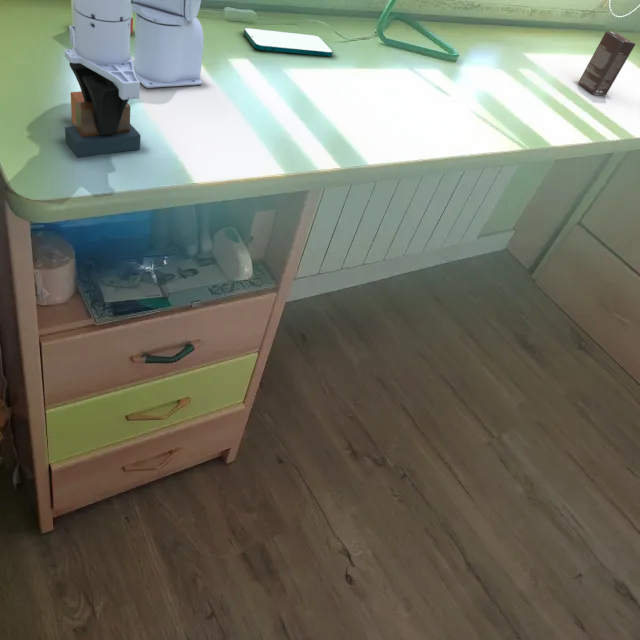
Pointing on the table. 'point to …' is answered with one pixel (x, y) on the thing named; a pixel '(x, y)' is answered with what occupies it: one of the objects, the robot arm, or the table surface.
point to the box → (606, 63)
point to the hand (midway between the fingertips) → (103, 127)
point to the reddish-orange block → (75, 98)
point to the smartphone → (287, 42)
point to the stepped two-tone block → (89, 140)
